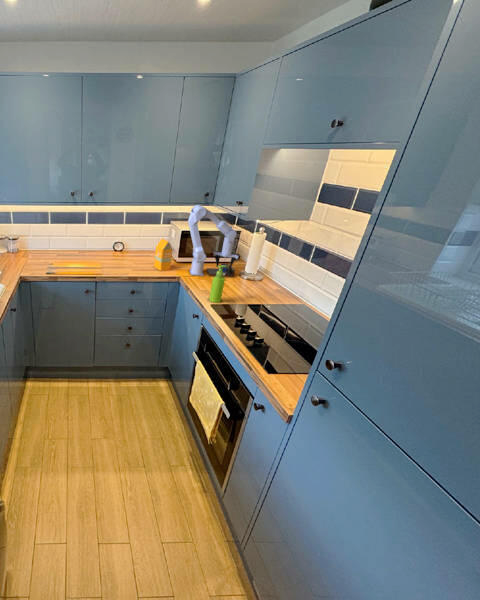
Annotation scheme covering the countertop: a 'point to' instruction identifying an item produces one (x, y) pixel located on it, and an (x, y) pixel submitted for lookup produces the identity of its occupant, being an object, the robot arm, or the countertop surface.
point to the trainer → (225, 268)
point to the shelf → (214, 271)
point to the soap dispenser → (217, 285)
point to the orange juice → (163, 255)
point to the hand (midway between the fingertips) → (223, 267)
